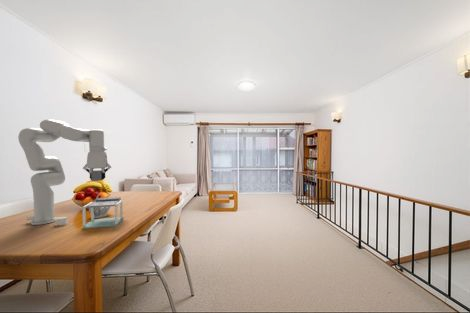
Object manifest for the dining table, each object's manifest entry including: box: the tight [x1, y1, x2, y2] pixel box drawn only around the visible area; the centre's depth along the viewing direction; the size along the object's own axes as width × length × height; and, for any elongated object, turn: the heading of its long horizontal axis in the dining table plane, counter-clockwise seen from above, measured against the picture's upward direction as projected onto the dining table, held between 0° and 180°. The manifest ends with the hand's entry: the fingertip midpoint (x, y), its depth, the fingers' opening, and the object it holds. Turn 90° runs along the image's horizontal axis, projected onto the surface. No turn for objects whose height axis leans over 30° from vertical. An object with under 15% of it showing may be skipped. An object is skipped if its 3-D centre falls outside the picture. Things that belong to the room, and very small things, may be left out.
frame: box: [81, 199, 124, 230], centre depth 127 cm, size 18×15×12 cm
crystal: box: [88, 195, 112, 219], centre depth 143 cm, size 10×13×15 cm
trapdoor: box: [87, 196, 121, 209], centre depth 130 cm, size 15×17×4 cm
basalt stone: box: [91, 169, 103, 182], centre depth 125 cm, size 5×5×6 cm
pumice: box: [54, 216, 68, 227], centre depth 126 cm, size 5×4×4 cm
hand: (97, 179), depth 125 cm, fingers closed on basalt stone, 5 cm apart
